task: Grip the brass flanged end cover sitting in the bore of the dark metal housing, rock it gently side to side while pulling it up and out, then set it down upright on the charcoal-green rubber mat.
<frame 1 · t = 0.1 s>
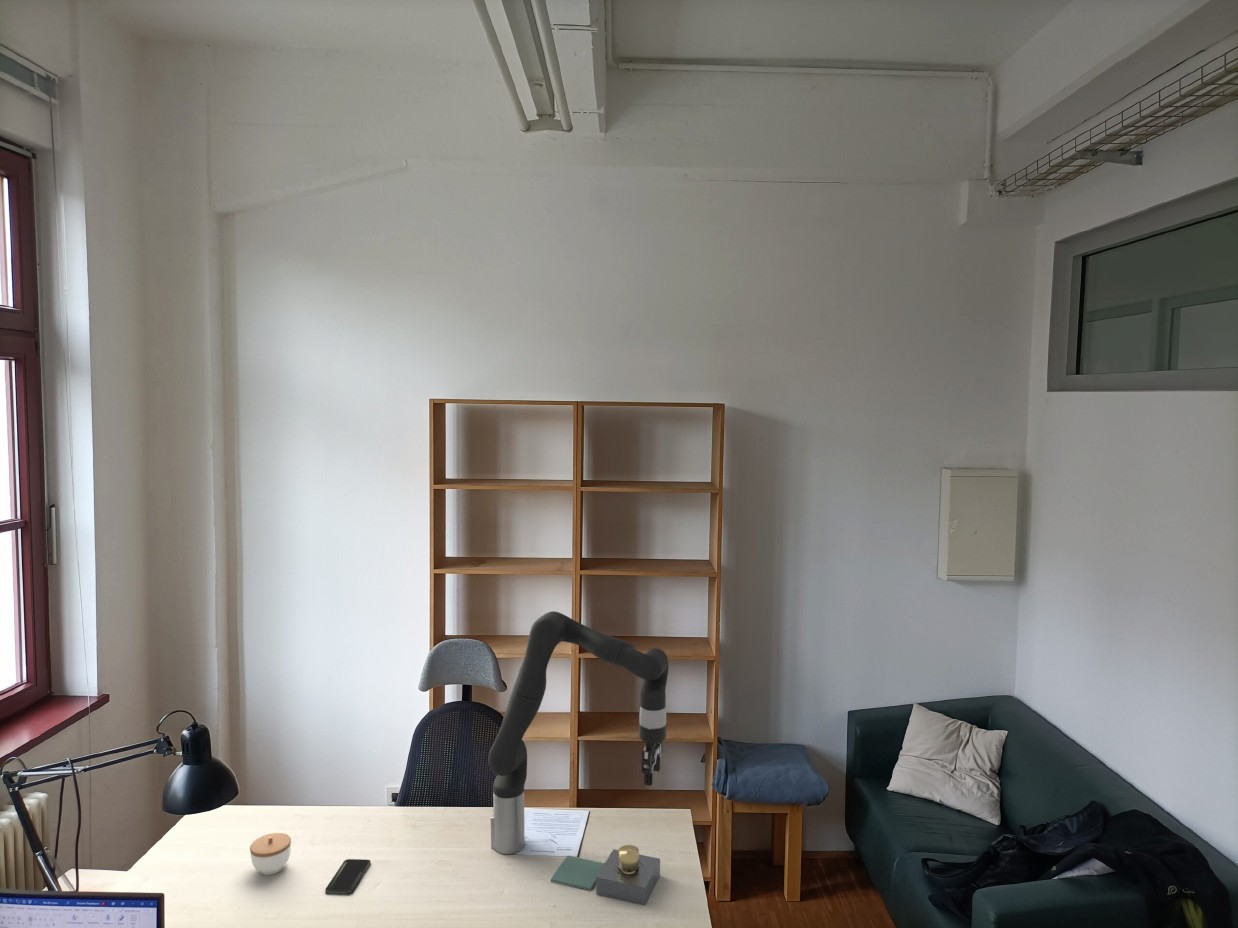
hand: (652, 777, 222), 29 cm above the table, fingers open, 8 cm apart
end cover: (628, 867, 220), in the housing
mat: (578, 873, 226), on the table
lidded jar: (271, 869, 228), on the table
housing: (628, 884, 221), on the table
remote control: (348, 879, 224), on the table
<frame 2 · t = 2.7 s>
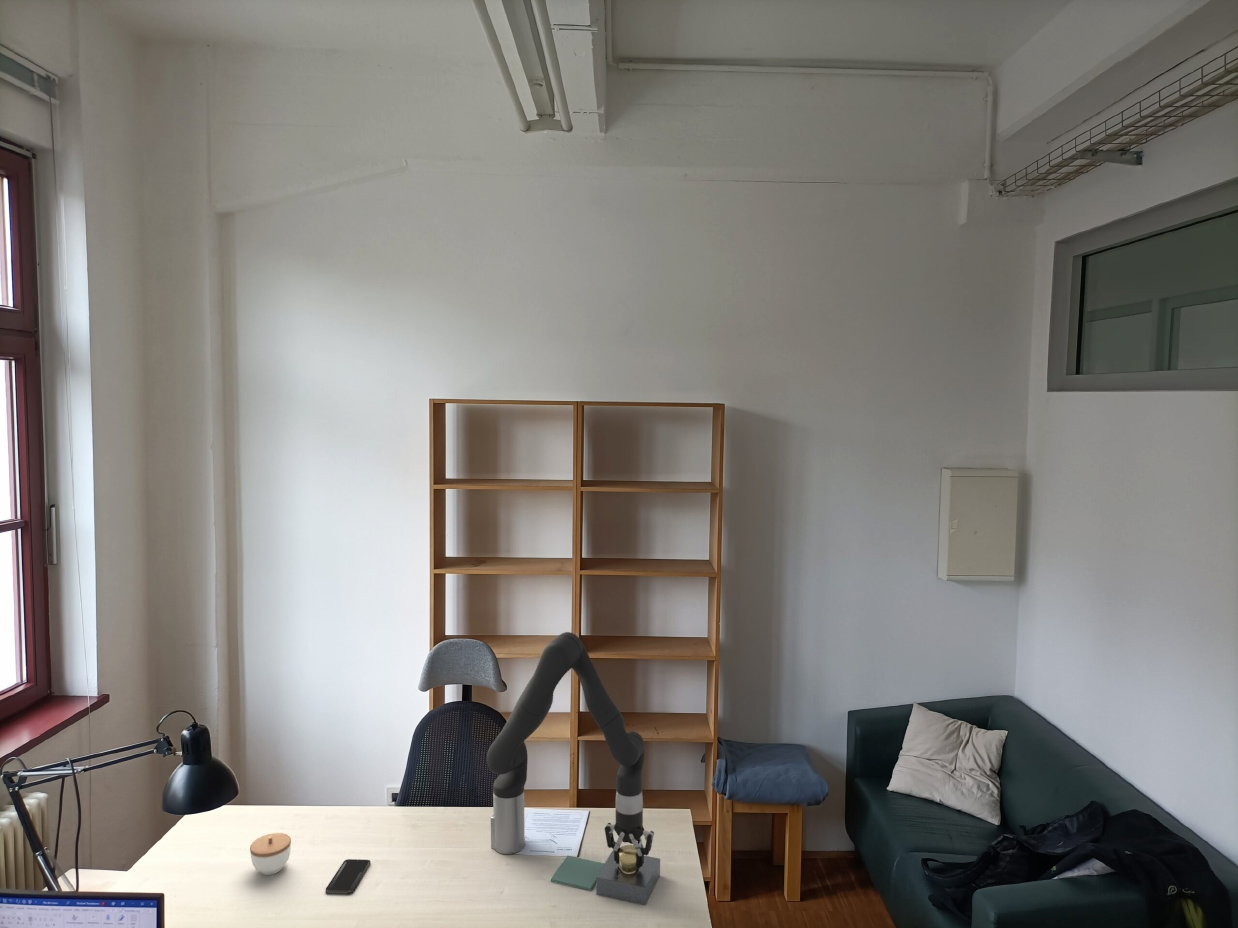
hand: (629, 863, 220), 6 cm above the table, fingers closed on end cover, 5 cm apart
end cover: (628, 867, 220), in the housing, touching gripper
everything else where it was.
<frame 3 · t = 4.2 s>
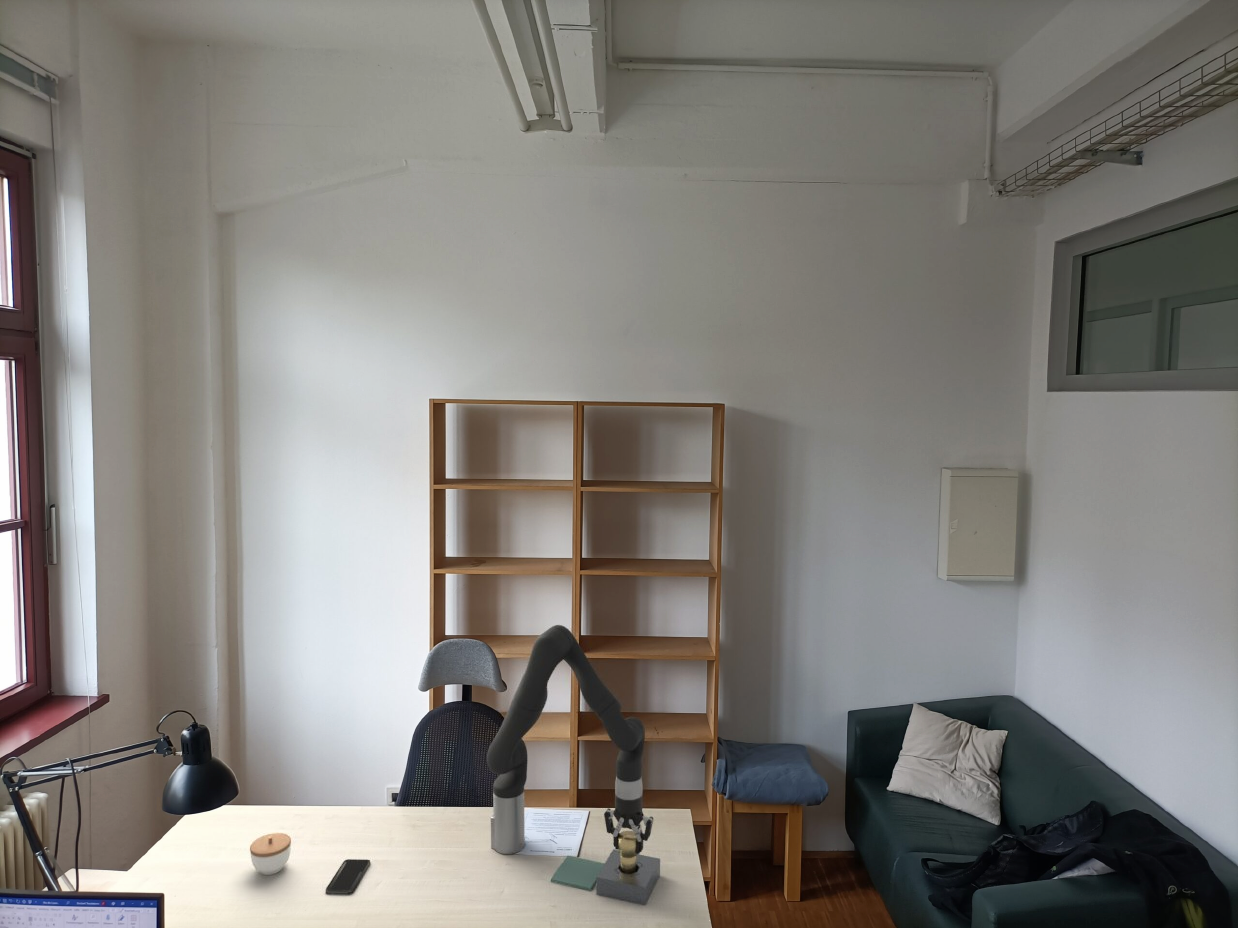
hand: (628, 849, 220), 10 cm above the table, fingers closed on end cover, 5 cm apart
end cover: (628, 853, 220), point 9 cm above the table, touching gripper
everything else where it was.
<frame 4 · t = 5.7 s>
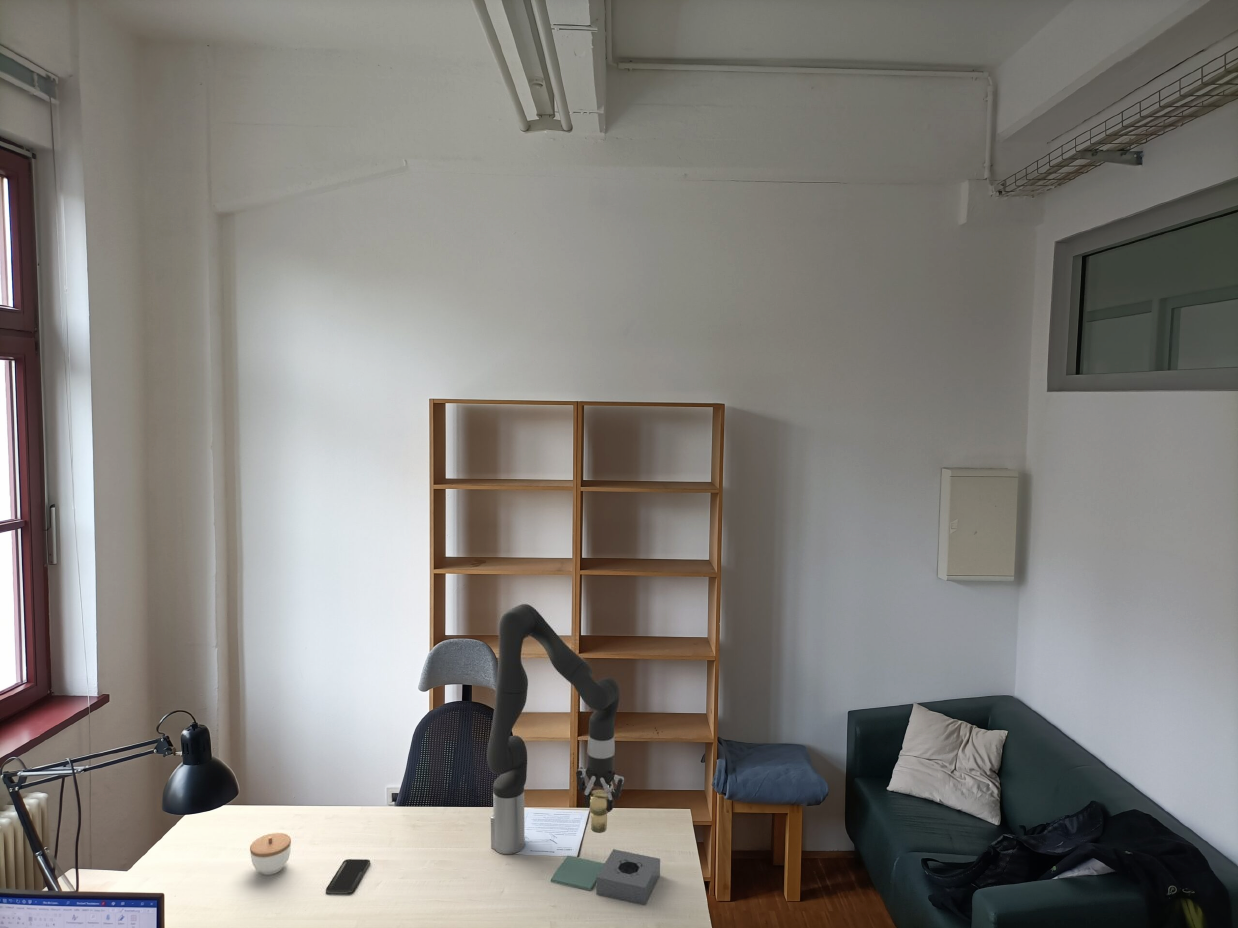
hand: (599, 807, 222), 20 cm above the table, fingers closed on end cover, 5 cm apart
end cover: (599, 811, 222), point 19 cm above the table, touching gripper
everything else where it was.
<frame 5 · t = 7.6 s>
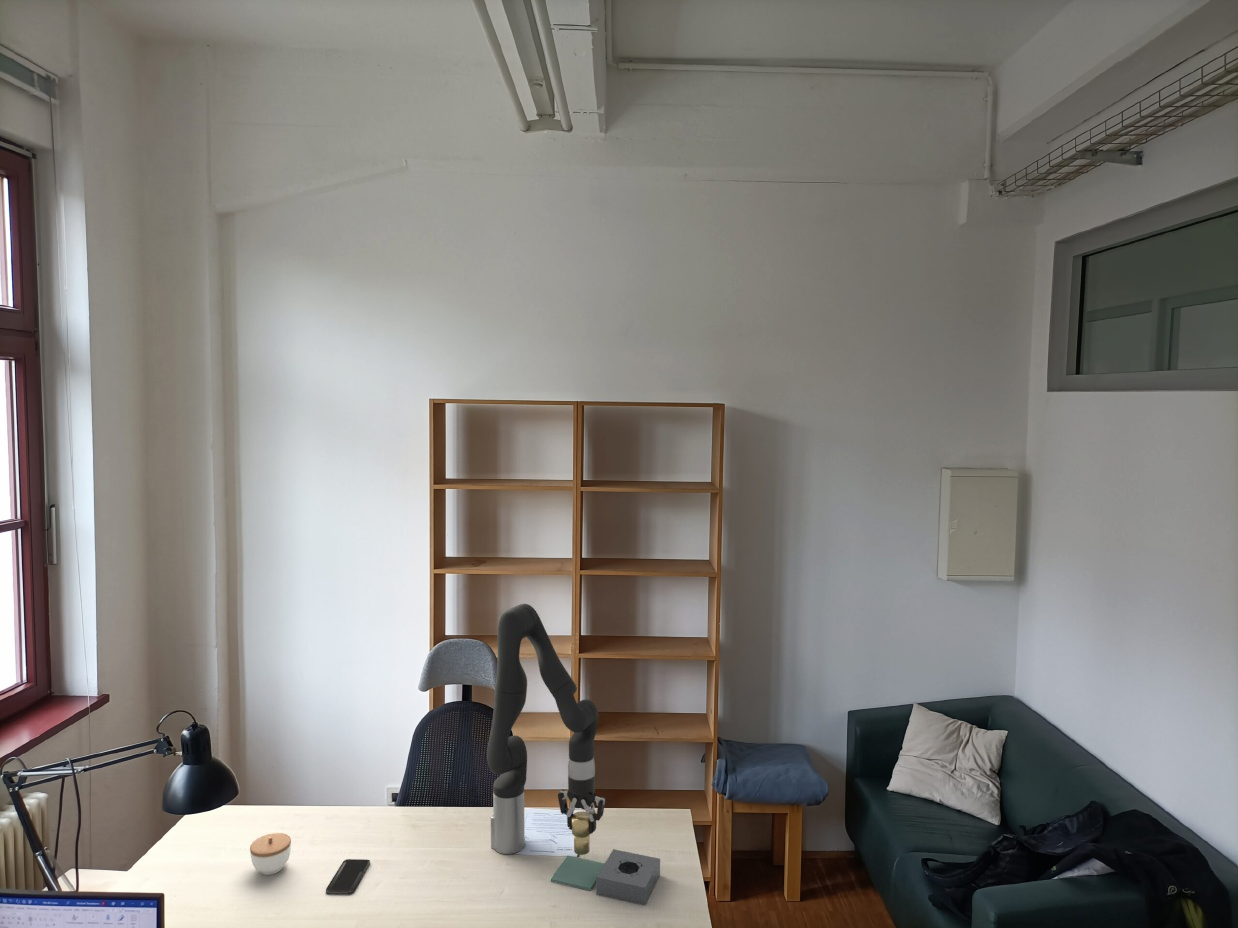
hand: (581, 829, 224), 13 cm above the table, fingers closed on end cover, 5 cm apart
end cover: (581, 833, 224), point 12 cm above the table, touching gripper
everything else where it was.
when the fingers open (8 cm above the table, at t = 9.1 s): end cover drops 1 cm, resting on mat.
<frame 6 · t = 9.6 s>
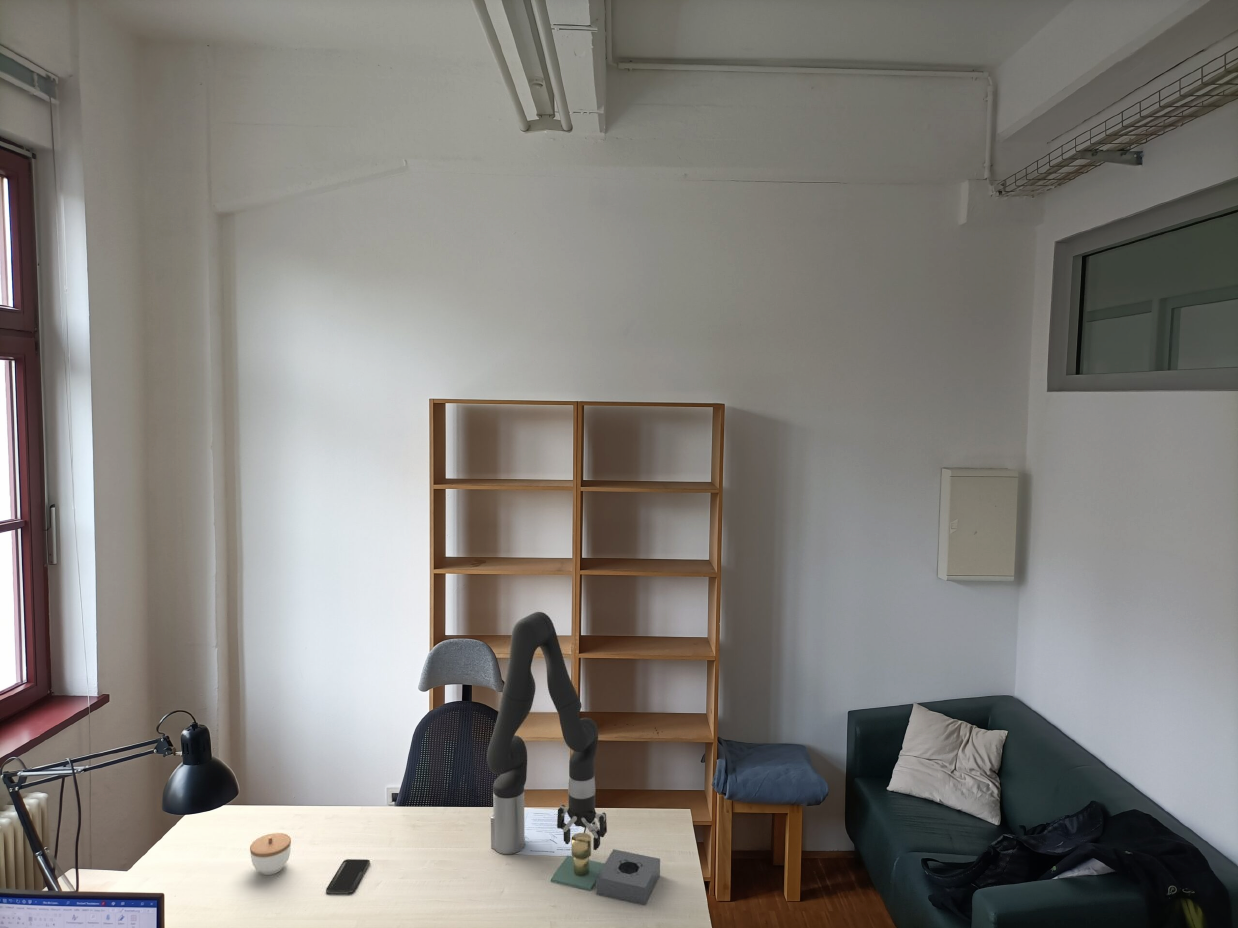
hand: (581, 845, 225), 9 cm above the table, fingers open, 8 cm apart
end cover: (581, 854, 225), on the mat, point 6 cm above the table
everything else where it was.
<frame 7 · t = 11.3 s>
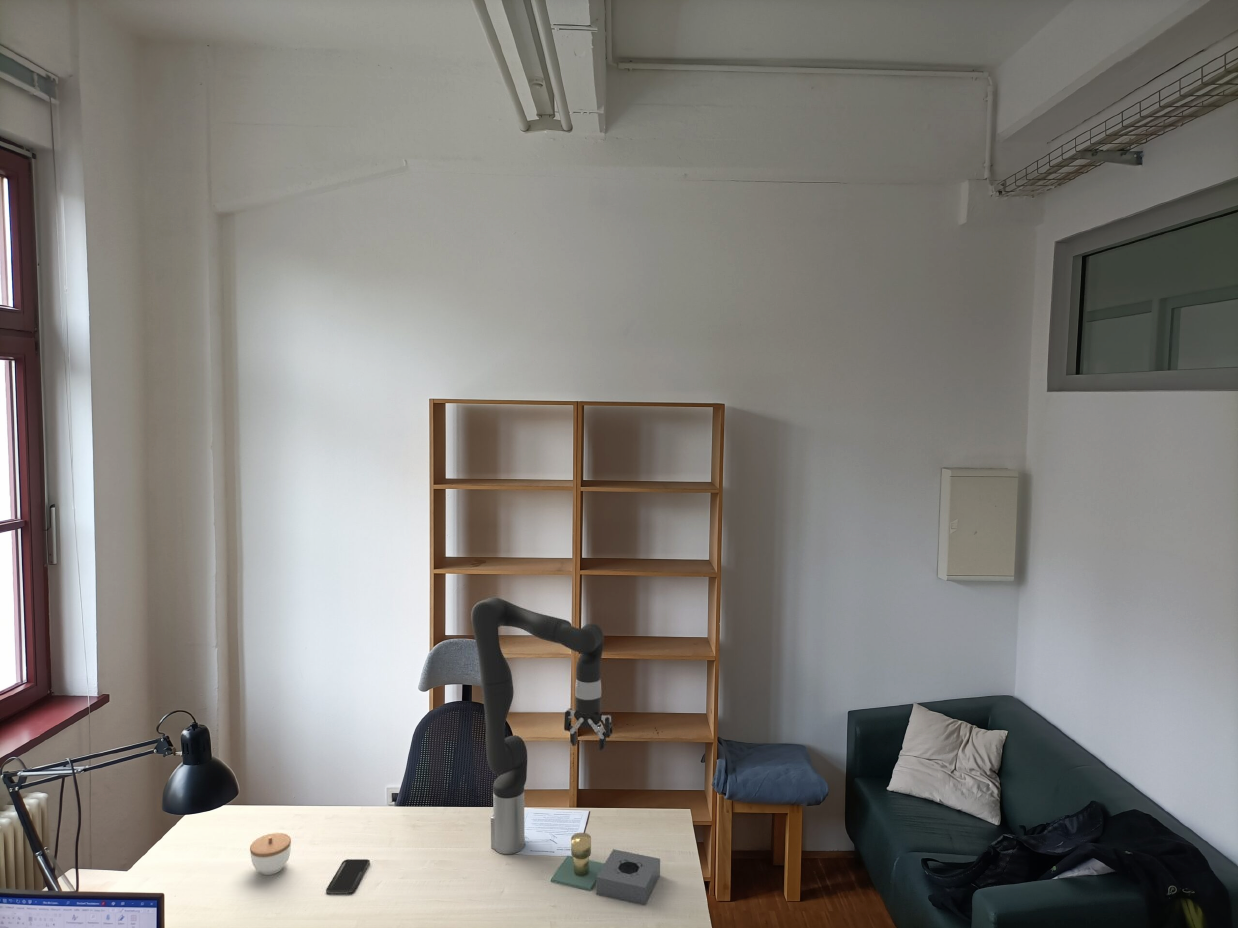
hand: (588, 747, 231), 33 cm above the table, fingers open, 8 cm apart
nothing on the table moved.
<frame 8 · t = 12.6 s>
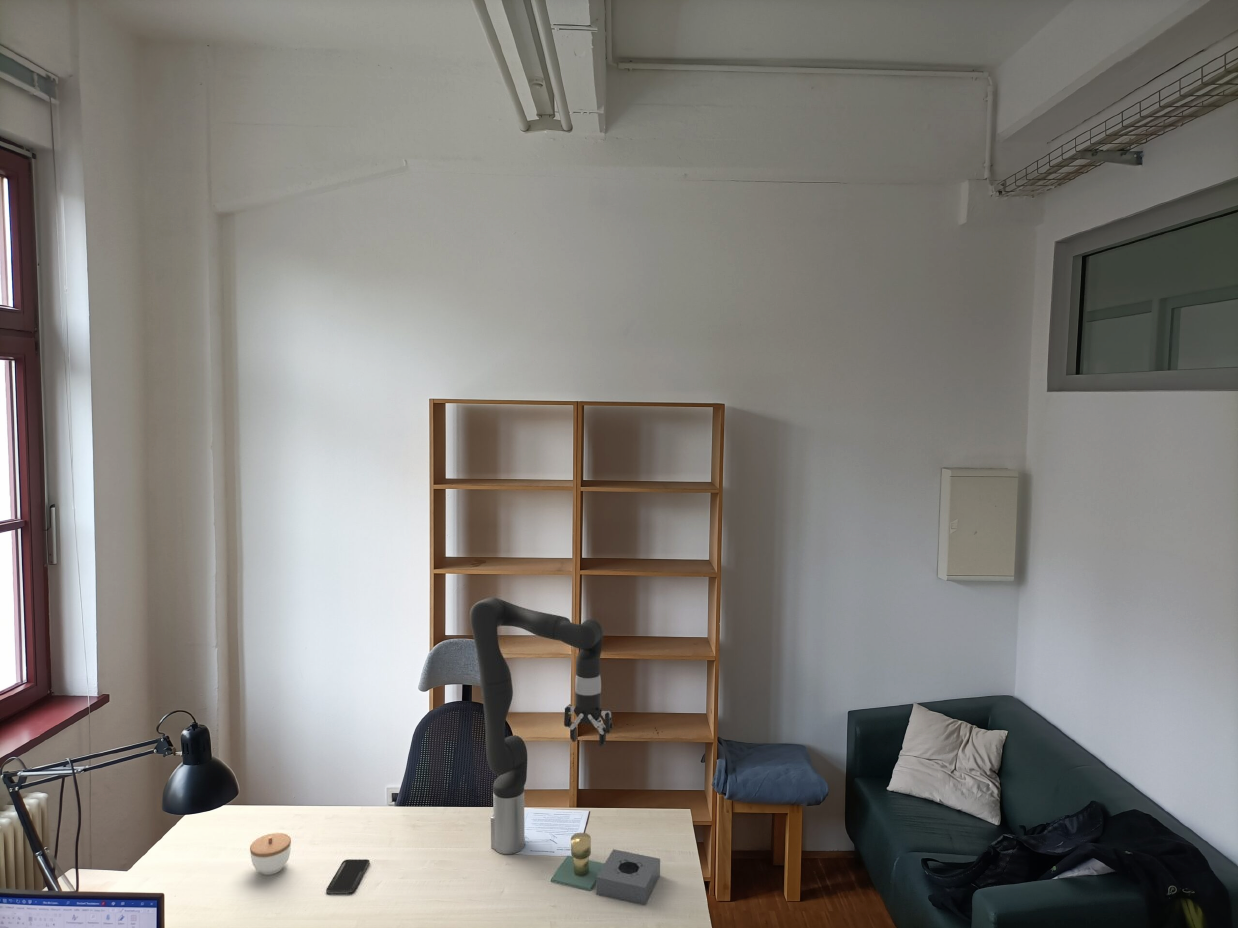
hand: (588, 742, 232), 34 cm above the table, fingers open, 8 cm apart
nothing on the table moved.
at the end: end cover inside the target area on the mat (0.9 cm from its centre), point 5.8 cm above the mat's base; end cover tilted 1°; end cover touching mat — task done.
